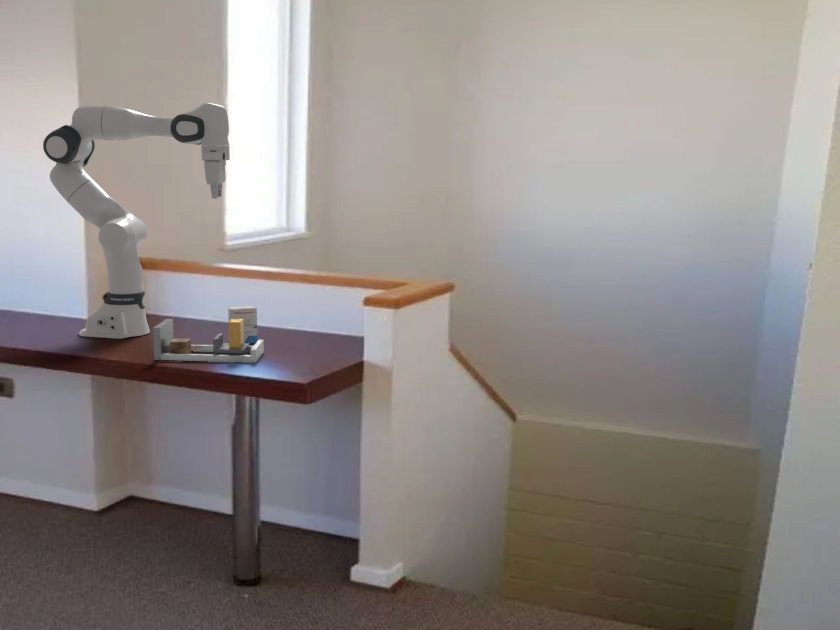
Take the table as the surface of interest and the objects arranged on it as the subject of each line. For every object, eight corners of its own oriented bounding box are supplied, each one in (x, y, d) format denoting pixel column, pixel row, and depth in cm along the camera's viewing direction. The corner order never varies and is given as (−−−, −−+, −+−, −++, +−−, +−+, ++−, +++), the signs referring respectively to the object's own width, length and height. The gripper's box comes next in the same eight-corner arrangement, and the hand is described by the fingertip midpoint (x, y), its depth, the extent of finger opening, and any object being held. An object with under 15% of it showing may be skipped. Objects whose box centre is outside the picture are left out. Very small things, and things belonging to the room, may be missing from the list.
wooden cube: (170, 358, 269) (169, 341, 268) (174, 354, 274) (174, 338, 273) (187, 358, 269) (186, 342, 268) (191, 354, 274) (190, 338, 273)
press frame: (154, 360, 264) (153, 327, 262) (167, 350, 278) (166, 318, 276) (255, 362, 264) (255, 329, 263) (263, 352, 278) (263, 320, 276)
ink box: (254, 340, 295) (254, 305, 293) (257, 343, 290) (257, 308, 288) (228, 341, 292) (227, 306, 289) (231, 345, 287) (230, 309, 285)
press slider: (213, 359, 267) (212, 323, 265) (219, 352, 276) (218, 317, 274) (243, 359, 267) (243, 323, 265) (249, 352, 276) (248, 317, 274)
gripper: (210, 154, 298) (211, 195, 301) (201, 154, 278) (202, 199, 281) (229, 154, 299) (230, 196, 301) (221, 155, 279) (222, 199, 281)
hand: (216, 197), depth 291 cm, fingers open, 8 cm apart
